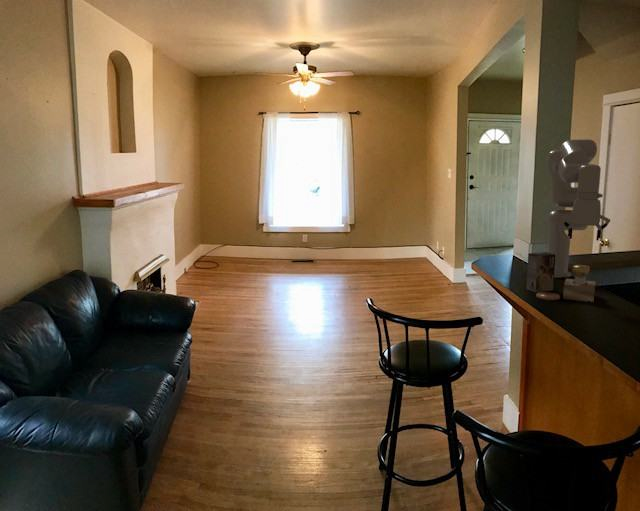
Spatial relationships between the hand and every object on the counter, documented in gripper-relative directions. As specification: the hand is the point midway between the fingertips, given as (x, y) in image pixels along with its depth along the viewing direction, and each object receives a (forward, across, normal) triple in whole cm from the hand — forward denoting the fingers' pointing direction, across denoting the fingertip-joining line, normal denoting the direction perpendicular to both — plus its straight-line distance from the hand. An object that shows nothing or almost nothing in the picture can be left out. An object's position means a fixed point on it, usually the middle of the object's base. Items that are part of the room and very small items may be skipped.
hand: (583, 239), depth 205 cm
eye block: (+24, 0, 0) cm, 24 cm away
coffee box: (+24, +16, -5) cm, 29 cm away
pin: (+24, 0, 0) cm, 24 cm away
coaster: (+24, +11, +6) cm, 27 cm away
